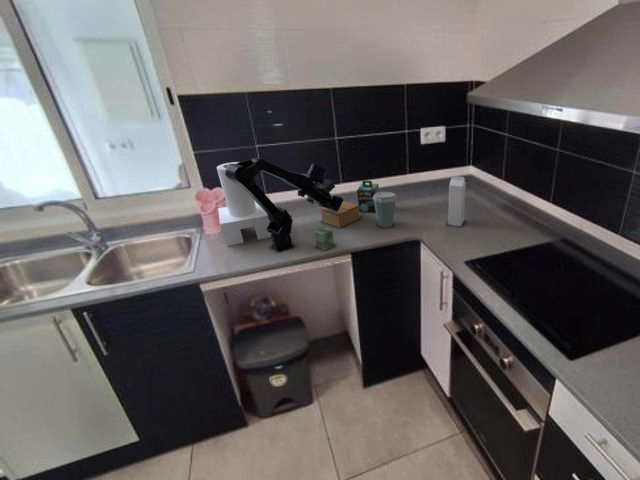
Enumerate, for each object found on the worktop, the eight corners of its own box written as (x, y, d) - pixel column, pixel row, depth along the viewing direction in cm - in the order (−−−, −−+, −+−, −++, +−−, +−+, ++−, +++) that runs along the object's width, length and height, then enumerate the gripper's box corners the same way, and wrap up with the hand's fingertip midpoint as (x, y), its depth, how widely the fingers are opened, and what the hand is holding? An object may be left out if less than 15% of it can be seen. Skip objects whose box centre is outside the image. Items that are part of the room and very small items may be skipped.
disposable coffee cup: (372, 221, 176) (370, 190, 169) (395, 218, 179) (394, 188, 172) (376, 231, 167) (374, 198, 160) (400, 228, 170) (399, 196, 163)
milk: (460, 226, 171) (463, 179, 160) (447, 224, 172) (449, 178, 162) (464, 221, 176) (466, 175, 165) (451, 219, 177) (453, 173, 167)
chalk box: (380, 205, 194) (378, 177, 187) (377, 212, 186) (374, 183, 179) (362, 205, 195) (360, 177, 188) (358, 211, 187) (355, 182, 180)
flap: (338, 214, 168) (338, 214, 168) (320, 209, 174) (320, 208, 174) (348, 211, 172) (348, 210, 172) (331, 205, 178) (331, 204, 178)
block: (325, 250, 152) (322, 234, 149) (316, 246, 155) (314, 231, 152) (334, 245, 156) (332, 230, 152) (326, 242, 158) (324, 227, 155)
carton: (339, 227, 171) (338, 214, 168) (322, 221, 177) (320, 208, 174) (359, 218, 180) (358, 205, 176) (342, 212, 186) (341, 200, 183)
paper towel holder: (224, 229, 171) (205, 163, 156) (267, 220, 178) (253, 157, 164) (226, 246, 156) (206, 175, 142) (273, 236, 164) (259, 168, 149)
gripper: (337, 179, 157) (358, 196, 170) (308, 171, 167) (330, 188, 180) (325, 203, 155) (347, 218, 168) (296, 194, 165) (319, 209, 178)
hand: (336, 208), depth 174 cm, fingers closed, pressing on flap
